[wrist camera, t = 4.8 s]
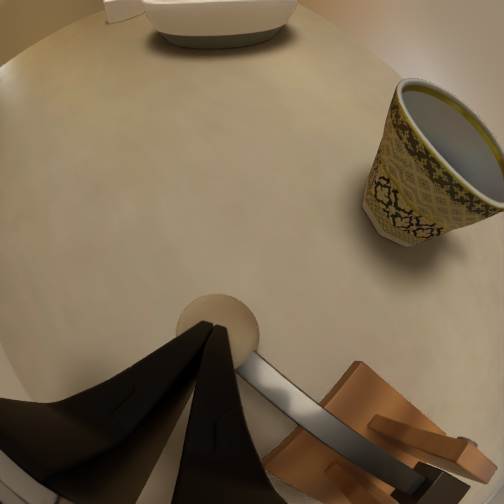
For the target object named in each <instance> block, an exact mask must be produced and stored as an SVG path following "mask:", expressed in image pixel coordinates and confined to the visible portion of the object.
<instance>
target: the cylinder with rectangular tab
mask: <svg viewBox="0 0 504 504" xmlns="http://www.w3.org/2000/svg"><path fill="white" fill-rule="evenodd" d="M104 6H105V10H106V15H107V19H108V23H116V22H120V21H124V20H127V19H130V18H133V17H136V16H138V15H140V14H142V13H144V12H145V10H144V7H143V4H142V0H105V1H104Z"/></svg>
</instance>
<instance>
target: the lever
mask: <svg viewBox="0 0 504 504" xmlns="http://www.w3.org/2000/svg"><path fill="white" fill-rule="evenodd" d="M201 320H205V321H208V322H211V323H213V324H214V325H215V324H218V325H222V326H225V327H227V330H228V336H229V342H230V347H231V352H232V358H233V363H234V368H235V373H237V374H239V375H240V376H241V377H242V378H243V379H244V380H245V381H246V382H247V383H249V384H250V385H251V386H252V387H253V388H254V389H255V390H257V391H258V392H259V393H260V394H261V395H262V396H264V397H265V398H266V399H267V400H268V401H269V402H271V403H272V404H273V405H274V406H275V407H277V408H278V409H279V410H280V411H282V412H283V413H284V414H285V415H287V416H288V417H289V418H290V419H292V420H293V421H294V422H295V423H297V424H298V425H299V426H301V427H302V428H303V429H305V430H306V431H307V432H309V433H310V434H311V435H313V436H314V437H315V438H317V439H318V440H319V441H321V442H322V443H324V444H325V445H326V446H328V447H329V448H331V449H332V450H334V451H335V452H337V453H338V454H339V455H341V456H342V457H344V458H345V459H347V460H349V461H350V462H352V463H353V464H355V465H356V466H358V467H359V468H361V469H363V470H364V471H366V472H367V473H369V474H371V475H372V476H374V477H376V478H377V479H379V480H381V481H383V482H384V483H386V484H388V485H390V486H392V487H393V488H395V490H394V491H393V492H392V493H391V494H390V496H391V497H392V498H393V499H394V500H396V501H397V502H398V503H399V504H458V503H459V502H460V501H461V499H462V498H463V497H464V496H465V494H466V493H467V492H468V490H469V489H470V487H471V486H469V485H467V484H466V483H464V482H462V481H460V480H459V479H457V478H455V477H453V476H452V475H450V474H448V473H447V472H445V471H443V470H440V469H438V468H435V467H433V466H430V465H427V464H425V463H423V462H420V461H419V462H418V463H417V464H416V465H415V466H414V468H413V469H412V468H411V467H409V466H407V465H406V464H404V463H402V462H401V461H399V460H398V459H396V458H395V457H393V456H391V455H390V454H388V453H387V452H385V451H384V450H382V449H381V448H379V447H378V446H376V445H375V444H373V443H372V442H370V441H369V440H367V439H366V438H365V437H363V436H362V435H360V434H359V433H357V432H356V431H355V430H353V429H352V428H350V427H349V426H348V425H346V424H345V423H344V422H342V421H341V420H340V419H338V418H337V417H335V416H334V415H333V414H331V413H330V412H329V411H328V410H326V409H325V408H324V407H322V406H321V405H320V404H318V403H317V402H316V401H315V400H313V399H312V398H311V397H309V396H308V395H307V394H306V393H304V392H303V391H302V390H301V389H299V388H298V387H297V386H296V385H295V384H293V383H292V382H291V381H290V380H288V379H287V378H286V377H285V376H284V375H282V374H281V373H280V372H279V371H278V370H277V369H275V368H274V367H273V366H272V365H271V364H269V363H268V362H267V361H266V360H265V359H264V358H263V357H261V356H260V355H259V354H258V353H257V352H256V351H257V348H258V345H259V327H258V323H257V321H256V318H255V316H254V315H253V313H252V312H251V310H250V309H249V308H248V307H247V306H246V305H245V304H244V303H242V302H241V301H239V300H238V299H236V298H234V297H231V296H228V295H223V294H211V295H206V296H203V297H200V298H198V299H196V300H194V301H193V302H192V303H190V304H189V305H188V306H187V307H186V308H185V309H184V311H183V312H182V314H181V316H180V317H179V320H178V323H177V327H176V337H177V336H179V335H180V334H182V333H183V332H185V331H186V330H188V329H189V328H191V327H192V326H194V325H195V324H197V323H198V322H200V321H201Z"/></svg>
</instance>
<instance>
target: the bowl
mask: <svg viewBox="0 0 504 504" xmlns="http://www.w3.org/2000/svg"><path fill="white" fill-rule="evenodd" d="M142 4H143V7H144V10H145V13H146V16H147V18H148V19H149V21H150V22H151V23H152V25H153V26H154V28H155V29H156V30H158V31H159V32H160V33H161V34H162V35H163V36H164V37H165V38H166V39H167V40H168V41H169V42H170V43H172V44H175V45H177V46H182V47H187V48H198V49H221V48H234V47H242V46H248V45H253V44H257V43H261V42H264V41H266V40H268V39H270V38H272V37H273V36H274V35H275V34H276V33H277V32H278V31H279V30H280V28H281V27H282V26H283V25H284V24H285V23H287V21H288V20H289V18H290V17H291V15H292V14H293V12H294V11H295V9H296V7H297V4H298V0H142Z"/></svg>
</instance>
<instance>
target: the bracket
mask: <svg viewBox="0 0 504 504" xmlns="http://www.w3.org/2000/svg"><path fill="white" fill-rule="evenodd" d="M320 405H321V406H322V407H324V408H325V409H326V410H328V411H329V412H330V413H331V414H333V415H334V416H335V417H337V418H338V419H340V420H341V421H342V422H344V423H345V424H346V425H348V426H349V427H350V428H352V429H353V430H355V431H356V432H357V433H359V434H360V435H362V436H363V437H365V438H366V439H367V440H369V441H370V442H372V443H373V444H375V445H376V446H378V447H379V448H381V449H382V450H384V451H385V452H387V453H388V454H390V455H391V456H393V457H395V458H396V459H398V460H399V461H401V462H402V463H404V464H406V465H407V466H409V467H411V468H412V469H413V468H414V466H415V465H416V464H417V463H418V462H419V461H420V462H423V463H425V464H426V463H429V464H431V465H434V466H436V467H439V468H441V469H444V470H446V471H449V472H451V473H454V474H457V475H459V476H462V477H465V478H468V479H471V480H474V481H477V482H480V483H483V484H488V482H489V481H490V479H491V478H492V476H493V475H494V473H495V472H496V470H497V468H498V467H497V466H496V465H495V464H494V463H492V462H491V461H490V460H489V459H488V458H487V457H486V456H485V455H484V454H483V453H482V452H480V451H479V450H478V449H477V446H478V445H477V444H476V443H475V442H474V441H472V440H470V439H467V438H464V437H457V439H456V438H452V437H448V436H446V433H445V432H444V431H442V430H441V429H440V428H439V427H438V426H436V425H435V424H434V423H433V422H432V421H431V420H429V419H428V418H427V417H426V416H425V415H424V414H422V413H421V412H420V411H419V410H418V409H417V408H416V407H414V406H413V405H412V404H411V403H410V402H409V401H407V400H406V399H405V398H404V397H403V396H402V395H400V394H399V393H398V392H397V391H396V390H395V389H394V388H392V387H391V386H390V385H389V384H388V383H387V382H386V381H384V380H383V379H382V378H381V377H380V376H379V375H377V374H376V373H375V372H374V371H373V370H372V369H371V368H369V367H368V366H367V365H366V364H365V363H364V362H363V361H354V363H353V364H352V365H351V367H350V368H349V369H348V370H347V372H346V373H345V374H344V375H343V377H342V378H341V379H340V380H339V382H338V383H337V384H336V385H335V386H334V388H333V389H332V390H331V391H330V392H329V394H328V395H327V396H326V397H325V398H324V399H323V400H322V402H321V403H320ZM262 464H263V468H264V469H266V470H267V471H269V472H270V473H272V474H274V475H275V476H277V477H278V478H280V479H281V480H283V481H285V482H286V483H288V484H290V485H291V486H293V487H295V488H297V489H298V490H300V491H302V492H304V493H305V494H307V495H309V496H311V497H313V498H315V499H317V500H319V501H321V502H323V503H325V504H399V503H398V502H397V501H396V500H394V499H393V498H392V497H391V496H390V494H391V493H392V492H393V491H394V490H395V488H393V487H392V486H390V485H388V484H386V483H384V482H383V481H381V480H379V479H377V478H376V477H374V476H372V475H371V474H369V473H367V472H366V471H364V470H363V469H361V468H359V467H358V466H356V465H355V464H353V463H352V462H350V461H349V460H347V459H345V458H344V457H342V456H341V455H339V454H338V453H337V452H335V451H334V450H332V449H331V448H329V447H328V446H326V445H325V444H324V443H322V442H321V441H319V440H318V439H317V438H315V437H314V436H313V435H311V434H310V433H309V432H307V431H306V430H305V429H303V428H302V427H301V426H298V427H297V428H296V429H295V430H294V431H293V432H292V433H291V434H290V435H289V436H288V437H287V438H286V439H285V440H284V441H283V442H282V443H281V444H280V445H279V446H278V447H277V448H276V449H275V450H273V451H272V452H271V453H270V454H269V455H268V456H267V457H266V458H265V459H263V460H262Z"/></svg>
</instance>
